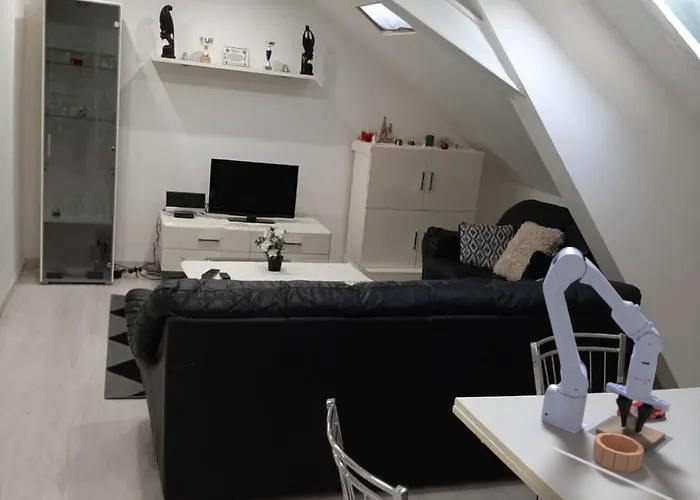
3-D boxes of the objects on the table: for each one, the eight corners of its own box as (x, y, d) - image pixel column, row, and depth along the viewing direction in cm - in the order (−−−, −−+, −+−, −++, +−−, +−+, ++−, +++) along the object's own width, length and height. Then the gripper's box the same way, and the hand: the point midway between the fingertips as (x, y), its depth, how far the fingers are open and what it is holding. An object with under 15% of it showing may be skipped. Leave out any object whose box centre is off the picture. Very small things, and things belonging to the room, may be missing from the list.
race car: (624, 424, 170) (627, 409, 169) (611, 414, 175) (613, 400, 175) (668, 421, 174) (671, 407, 173) (654, 412, 179) (656, 398, 178)
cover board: (595, 432, 162) (598, 413, 161) (616, 418, 171) (619, 400, 170) (645, 452, 154) (649, 432, 153) (664, 437, 163) (668, 418, 162)
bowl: (584, 459, 150) (587, 441, 149) (603, 446, 157) (607, 428, 156) (628, 479, 143) (632, 459, 142) (647, 464, 150) (650, 445, 149)
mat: (586, 433, 162) (586, 431, 162) (612, 417, 173) (613, 415, 173) (649, 459, 152) (649, 457, 152) (672, 440, 163) (673, 438, 163)
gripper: (678, 382, 157) (668, 435, 160) (618, 362, 167) (609, 413, 170) (667, 389, 152) (657, 444, 155) (605, 369, 162) (597, 420, 165)
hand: (631, 428), depth 162 cm, fingers closed on cover board, 3 cm apart
